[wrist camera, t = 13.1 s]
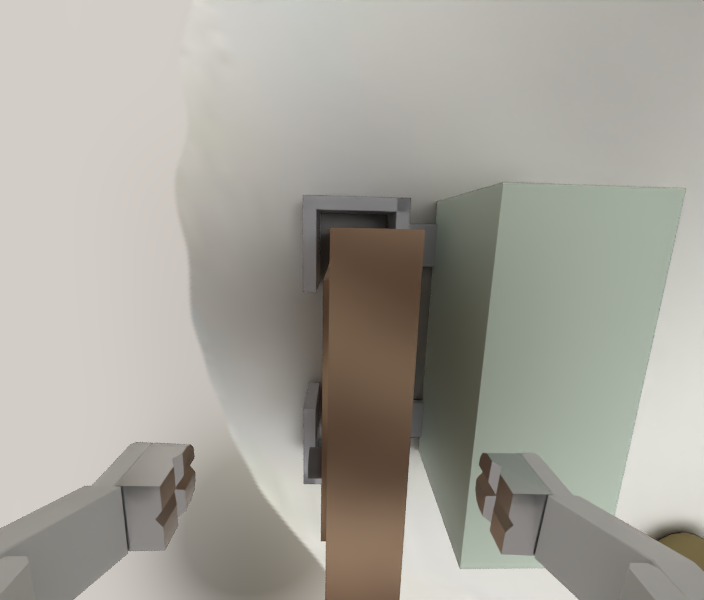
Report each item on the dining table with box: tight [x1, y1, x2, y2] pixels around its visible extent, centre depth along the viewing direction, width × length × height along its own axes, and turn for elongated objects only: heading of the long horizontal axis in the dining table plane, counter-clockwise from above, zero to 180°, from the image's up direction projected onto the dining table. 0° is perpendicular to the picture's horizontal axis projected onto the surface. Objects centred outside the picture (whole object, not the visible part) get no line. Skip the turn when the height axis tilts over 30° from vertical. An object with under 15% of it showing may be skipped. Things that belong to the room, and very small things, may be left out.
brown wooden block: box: [308, 227, 425, 600], centre depth 19 cm, size 16×4×14 cm, turn 178°
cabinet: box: [303, 182, 686, 569], centre depth 21 cm, size 17×20×10 cm
